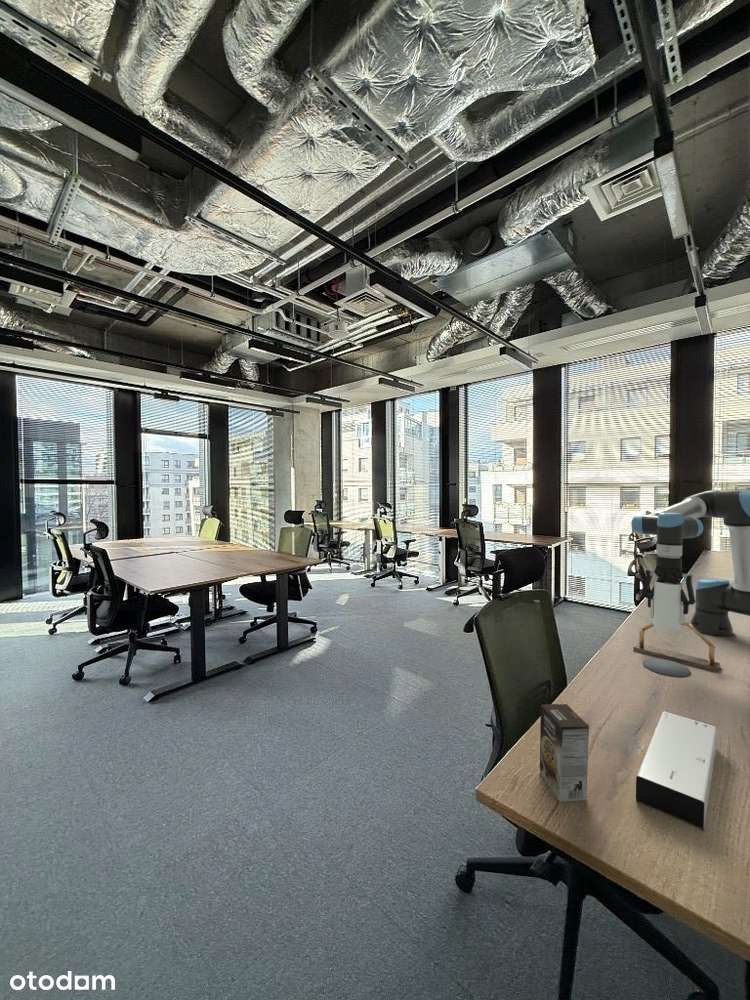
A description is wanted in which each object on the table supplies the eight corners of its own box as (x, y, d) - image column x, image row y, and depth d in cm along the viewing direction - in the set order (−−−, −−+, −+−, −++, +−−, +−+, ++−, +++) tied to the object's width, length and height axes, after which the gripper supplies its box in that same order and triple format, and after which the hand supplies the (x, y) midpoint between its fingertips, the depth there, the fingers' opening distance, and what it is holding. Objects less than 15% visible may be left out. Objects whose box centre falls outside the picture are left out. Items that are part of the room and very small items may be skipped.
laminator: (703, 834, 81) (704, 802, 80) (629, 802, 89) (629, 773, 89) (715, 750, 106) (716, 726, 106) (657, 731, 114) (657, 708, 114)
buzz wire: (638, 646, 172) (639, 611, 171) (719, 667, 153) (721, 627, 152) (633, 650, 168) (634, 614, 167) (716, 672, 149) (718, 631, 148)
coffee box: (538, 773, 97) (539, 703, 96) (565, 771, 98) (566, 702, 97) (558, 803, 88) (560, 726, 87) (588, 801, 88) (590, 725, 88)
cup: (672, 623, 155) (673, 579, 155) (686, 630, 147) (687, 585, 147) (648, 622, 156) (649, 579, 156) (661, 629, 148) (662, 584, 147)
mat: (649, 656, 162) (649, 655, 162) (694, 668, 152) (694, 666, 152) (637, 667, 153) (637, 665, 153) (684, 680, 142) (684, 678, 142)
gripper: (632, 553, 156) (630, 615, 157) (703, 561, 140) (701, 629, 141) (638, 551, 161) (637, 611, 162) (708, 559, 146) (706, 624, 146)
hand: (667, 619), depth 152 cm, fingers closed on cup, 8 cm apart
